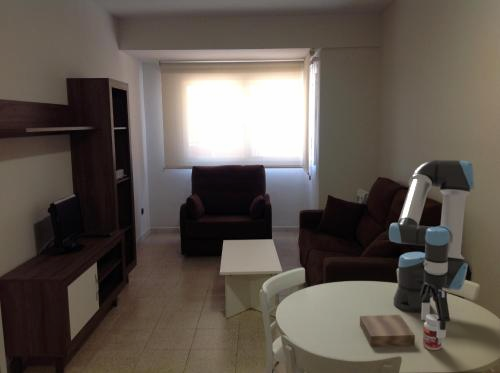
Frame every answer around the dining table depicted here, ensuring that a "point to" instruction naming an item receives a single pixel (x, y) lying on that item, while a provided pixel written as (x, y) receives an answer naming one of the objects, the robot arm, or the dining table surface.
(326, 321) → the dining table surface
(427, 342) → the pill bottle
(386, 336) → the walnut block
